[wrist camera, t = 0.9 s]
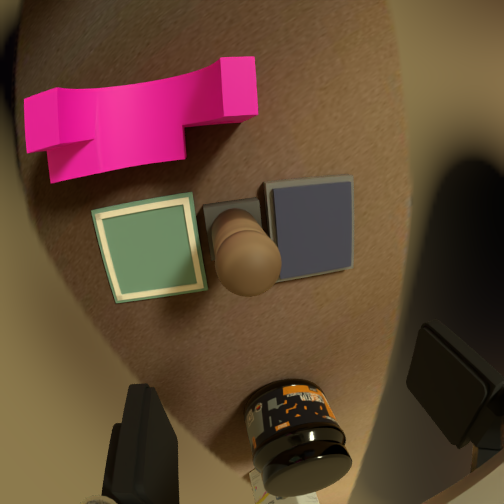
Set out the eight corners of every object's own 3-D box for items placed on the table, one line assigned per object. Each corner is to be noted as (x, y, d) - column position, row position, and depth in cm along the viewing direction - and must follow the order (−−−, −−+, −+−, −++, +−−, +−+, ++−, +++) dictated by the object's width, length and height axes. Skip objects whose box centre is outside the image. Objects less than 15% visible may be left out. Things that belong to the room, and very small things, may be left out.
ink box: (269, 476, 42) (284, 530, 32) (246, 471, 41) (259, 529, 30) (303, 453, 41) (325, 510, 30) (281, 448, 39) (300, 510, 28)
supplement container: (337, 386, 36) (375, 455, 25) (288, 433, 38) (312, 500, 27) (275, 363, 32) (306, 448, 21) (225, 417, 35) (239, 496, 23)
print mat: (92, 210, 24) (90, 211, 23) (192, 191, 25) (192, 192, 24) (116, 301, 27) (115, 304, 26) (208, 288, 28) (208, 291, 27)
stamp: (203, 204, 25) (206, 244, 16) (255, 197, 26) (291, 231, 16) (210, 254, 27) (219, 318, 17) (260, 246, 27) (295, 305, 18)
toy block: (72, 176, 22) (31, 190, 16) (66, 107, 20) (24, 99, 13) (243, 151, 24) (260, 155, 18) (238, 80, 22) (254, 56, 15)
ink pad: (263, 181, 25) (267, 184, 24) (348, 173, 26) (355, 176, 25) (271, 278, 29) (275, 285, 27) (348, 264, 30) (355, 270, 28)
